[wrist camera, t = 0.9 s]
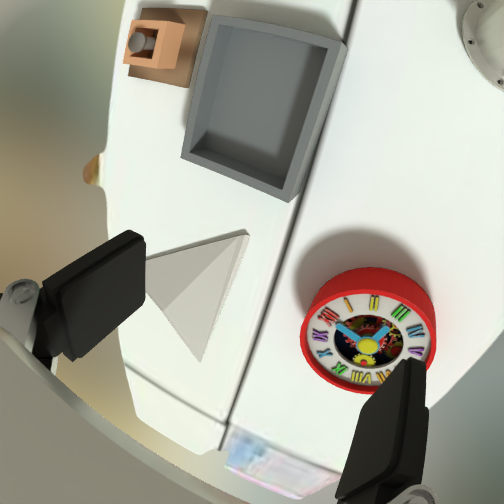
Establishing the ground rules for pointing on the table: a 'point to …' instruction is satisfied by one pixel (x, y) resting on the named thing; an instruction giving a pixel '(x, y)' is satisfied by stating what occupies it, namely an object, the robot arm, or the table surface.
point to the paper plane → (195, 287)
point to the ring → (156, 44)
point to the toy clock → (367, 328)
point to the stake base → (187, 50)
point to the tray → (261, 102)
